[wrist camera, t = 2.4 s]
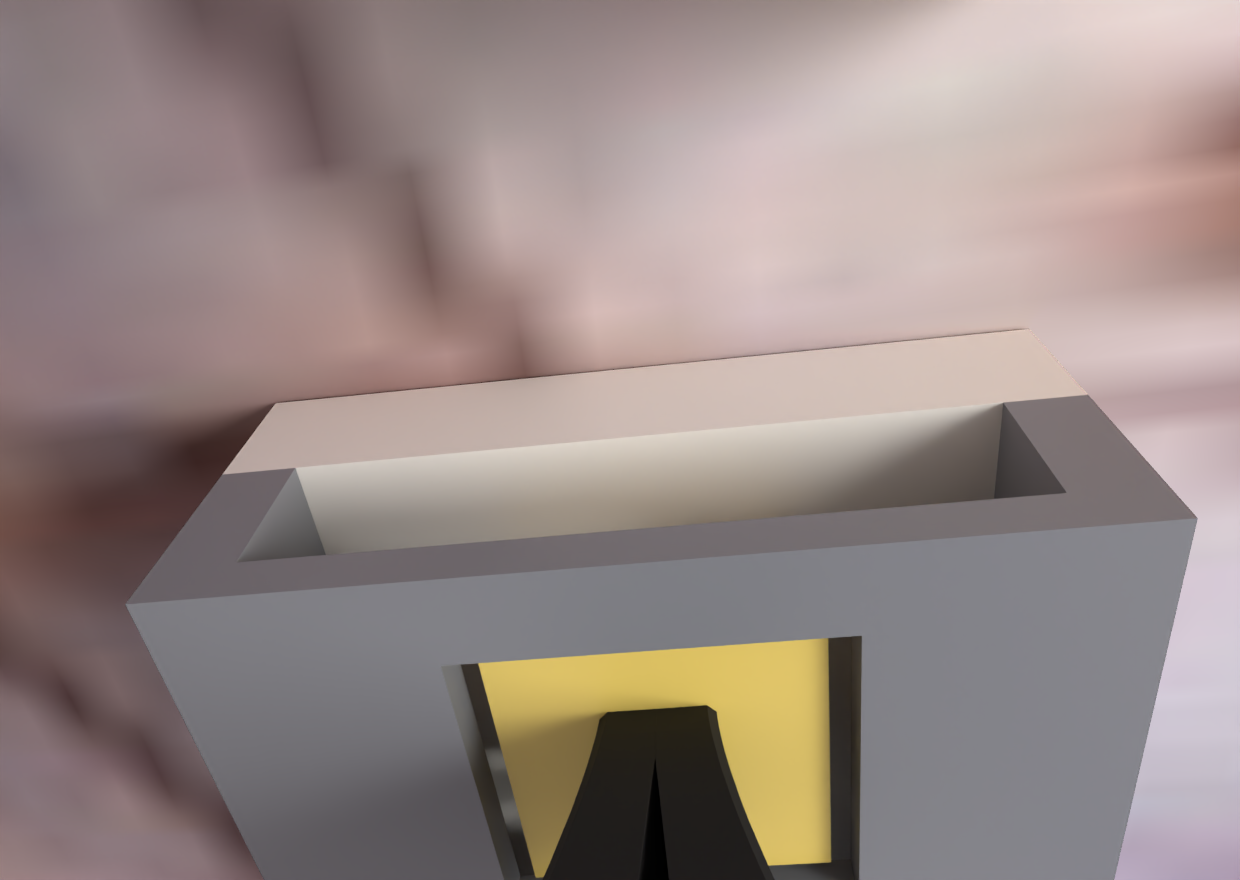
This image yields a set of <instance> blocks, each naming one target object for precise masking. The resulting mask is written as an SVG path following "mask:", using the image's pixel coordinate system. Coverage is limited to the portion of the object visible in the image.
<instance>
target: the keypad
mask: <svg viewBox="0 0 1240 880" xmlns="http://www.w3.org/2000/svg"><path fill="white" fill-rule="evenodd" d="M1197 519H1198V518H1197V517H1196V516H1195V515H1194V514H1193V513H1192V511H1191V510H1190V509H1189V508H1188V507H1187V506H1186V505H1185V504H1184V502H1183V501H1182V500H1181V499H1180V498H1179V497H1178V496H1177V495H1176V493H1175V492H1174V491H1173V490H1172V489H1171V488H1170V487H1169V486H1168V484H1167V483H1166V482H1165V481H1164V480H1163V479H1162V478H1161V477H1160V475H1159V474H1158V473H1157V472H1156V471H1155V470H1154V469H1153V468H1152V466H1151V465H1150V464H1149V463H1148V462H1147V461H1146V460H1145V458H1144V457H1143V456H1142V455H1141V454H1140V453H1139V452H1138V451H1137V449H1136V448H1135V447H1134V446H1133V445H1132V444H1131V443H1130V442H1129V440H1128V439H1127V438H1126V437H1125V436H1124V435H1123V434H1122V433H1121V431H1120V430H1119V429H1118V428H1117V427H1116V426H1115V425H1114V424H1113V422H1112V421H1111V420H1110V419H1109V418H1108V417H1107V416H1106V415H1105V413H1104V412H1103V411H1102V410H1101V409H1100V408H1099V407H1098V406H1097V404H1096V403H1095V402H1094V401H1093V400H1092V399H1091V398H1090V397H1089V395H1088V394H1087V393H1086V392H1085V391H1084V390H1083V389H1082V388H1081V386H1080V385H1079V384H1078V383H1077V382H1076V381H1075V380H1074V379H1073V377H1072V376H1071V375H1070V374H1069V373H1068V372H1067V371H1066V369H1065V368H1064V367H1063V366H1062V365H1061V364H1060V363H1059V362H1058V360H1057V359H1056V358H1055V357H1054V356H1053V355H1052V354H1051V353H1050V351H1049V350H1048V349H1047V348H1046V347H1045V346H1044V345H1043V344H1042V342H1041V341H1040V340H1039V339H1038V338H1037V337H1036V336H1035V335H1034V333H1033V332H1032V331H1031V330H1030V329H1023V330H1013V331H1003V332H993V333H983V334H973V335H963V336H952V337H942V338H932V339H922V340H912V341H902V342H892V343H882V344H871V345H861V346H851V347H841V348H831V349H821V350H811V351H800V352H790V353H780V354H770V355H760V356H750V357H740V358H730V359H719V360H709V361H699V362H689V363H679V364H669V365H659V366H648V367H638V368H628V369H618V370H608V371H598V372H588V373H578V374H567V375H557V376H547V377H537V378H527V379H517V380H507V381H497V382H486V383H476V384H466V385H456V386H446V387H436V388H426V389H415V390H405V391H395V392H385V393H375V394H365V395H355V396H345V397H334V398H324V399H314V400H304V401H294V402H284V403H275V405H274V406H273V407H272V409H271V410H270V411H269V413H268V414H267V415H266V417H265V418H264V419H263V421H262V422H261V423H260V425H259V426H258V427H257V429H256V430H255V431H254V433H253V434H252V436H251V437H250V438H249V440H248V441H247V442H246V444H245V445H244V446H243V448H242V449H241V450H240V452H239V453H238V454H237V456H236V457H235V458H234V460H233V461H232V462H231V464H230V465H229V466H228V468H227V469H226V470H225V472H224V473H223V474H222V476H221V477H220V478H219V480H218V481H217V482H216V484H215V485H214V486H213V488H212V489H211V490H210V492H209V493H208V494H207V496H206V497H205V498H204V500H203V501H202V502H201V504H200V505H199V506H198V508H197V509H196V510H195V512H194V513H193V514H192V516H191V517H190V518H189V520H188V521H187V522H186V524H185V525H184V526H183V528H182V529H181V530H180V532H179V533H178V534H177V536H176V537H175V539H174V540H173V541H172V543H171V544H170V545H169V547H168V548H167V549H166V551H165V552H164V553H163V555H162V556H161V557H160V559H159V560H158V561H157V563H156V564H155V565H154V567H153V568H152V569H151V571H150V572H149V573H148V575H147V576H146V577H145V579H144V580H143V581H142V583H141V584H140V585H139V587H138V588H137V589H136V591H135V592H134V593H133V595H132V596H131V597H130V599H129V600H128V601H127V603H126V604H125V605H126V607H127V609H128V611H129V613H130V615H131V617H132V619H133V621H134V623H135V625H136V627H137V629H138V631H139V633H140V635H141V637H142V639H143V641H144V643H145V645H146V647H147V649H148V651H149V653H150V655H151V657H152V659H153V661H154V663H155V665H156V667H157V669H158V671H159V672H160V674H161V676H162V678H163V680H164V682H165V684H166V686H167V688H168V690H169V692H170V694H171V696H172V698H173V700H174V702H175V704H176V706H177V708H178V710H179V712H180V714H181V716H182V718H183V720H184V722H185V724H186V726H187V728H188V730H189V732H190V734H191V736H192V738H193V740H194V742H195V744H196V746H197V748H198V750H199V752H200V754H201V756H202V758H203V760H204V762H205V764H206V766H207V768H208V770H209V772H210V774H211V776H212V778H213V780H214V782H215V784H216V786H217V788H218V790H219V792H220V793H221V795H222V797H223V799H224V801H225V803H226V805H227V807H228V809H229V811H230V813H231V815H232V817H233V819H234V821H235V823H236V825H237V827H238V829H239V831H240V833H241V835H242V837H243V839H244V841H245V843H246V845H247V847H248V849H249V851H250V853H251V855H252V857H253V859H254V861H255V863H256V865H257V867H258V869H259V871H260V873H261V875H262V877H263V879H264V880H542V879H543V877H537V878H536V877H535V873H534V869H533V866H532V862H531V858H530V854H529V851H528V847H527V843H526V840H525V836H524V832H523V828H522V825H521V821H520V817H519V813H518V810H517V806H516V802H515V799H514V795H513V791H512V787H511V784H510V780H509V776H508V772H507V769H506V765H505V761H504V758H503V754H502V750H501V746H500V743H499V739H498V735H497V732H496V728H495V724H494V720H493V717H492V713H491V709H490V705H489V702H488V698H487V694H486V691H485V687H484V683H483V679H482V676H481V672H480V668H479V665H478V663H489V662H503V661H517V660H531V659H544V658H558V657H572V656H586V655H600V654H614V653H628V652H642V651H655V650H669V649H683V648H697V647H711V646H725V645H739V644H753V643H767V642H780V641H794V640H808V639H822V638H828V655H829V730H830V806H831V862H829V863H809V864H790V865H770V866H769V868H770V871H771V873H772V875H773V877H774V879H775V880H1114V878H1115V873H1116V869H1117V865H1118V860H1119V856H1120V852H1121V847H1122V843H1123V839H1124V835H1125V830H1126V826H1127V822H1128V817H1129V813H1130V809H1131V804H1132V800H1133V796H1134V791H1135V787H1136V783H1137V778H1138V774H1139V770H1140V765H1141V761H1142V757H1143V752H1144V748H1145V744H1146V739H1147V735H1148V731H1149V726H1150V722H1151V718H1152V713H1153V709H1154V705H1155V700H1156V696H1157V692H1158V687H1159V683H1160V679H1161V674H1162V670H1163V666H1164V661H1165V657H1166V653H1167V648H1168V644H1169V640H1170V635H1171V631H1172V627H1173V622H1174V618H1175V614H1176V609H1177V605H1178V601H1179V597H1180V592H1181V588H1182V584H1183V579H1184V575H1185V571H1186V566H1187V562H1188V558H1189V553H1190V549H1191V545H1192V540H1193V536H1194V532H1195V527H1196V523H1197Z"/></svg>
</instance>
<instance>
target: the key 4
mask: <svg viewBox="0 0 1240 880" xmlns="http://www.w3.org/2000/svg"><path fill="white" fill-rule="evenodd" d="M478 665H479V668H480V672H481V676H482V679H483V683H484V687H485V691H486V694H487V698H488V702H489V705H490V709H491V713H492V717H493V720H494V724H495V728H496V732H497V735H498V739H499V743H500V746H501V750H502V754H503V758H504V761H505V765H506V769H507V772H508V776H509V780H510V784H511V787H512V791H513V795H514V799H515V802H516V806H517V810H518V813H519V817H520V821H521V825H522V828H523V832H524V836H525V840H526V843H527V847H528V851H529V854H530V858H531V862H532V866H533V869H534V873H535V877H536V878H537V877H544V875H545V873H546V870H547V868H548V866H549V864H550V861H551V859H552V856H553V854H554V851H555V849H556V846H557V844H558V842H559V839H560V837H561V834H562V832H563V829H564V827H565V824H566V822H567V819H568V817H569V815H570V812H571V809H572V807H573V804H574V801H575V798H576V796H577V793H578V790H579V787H580V785H581V782H582V779H583V776H584V773H585V770H586V767H587V764H588V761H589V757H590V754H591V751H592V747H593V744H594V740H595V737H596V733H597V728H598V724H599V720H600V718H602V717H603V716H604V715H605V714H606V713H607V712H616V711H631V710H646V709H661V708H675V707H689V706H703V705H708V706H709V707H711V708H712V709H713V710H715V711H716V712H717V718H718V724H719V729H720V734H721V738H722V742H723V746H724V750H725V754H726V757H727V760H728V764H729V767H730V770H731V773H732V776H733V779H734V782H735V785H736V787H737V790H738V793H739V796H740V799H741V802H742V804H743V807H744V809H745V812H746V814H747V817H748V819H749V822H750V824H751V827H752V829H753V831H754V834H755V836H756V838H757V841H758V843H759V845H760V847H761V850H762V852H763V854H764V857H765V859H766V861H767V864H768V866H770V865H790V864H809V863H829V862H831V806H830V730H829V655H828V638H822V639H808V640H794V641H780V642H767V643H753V644H739V645H725V646H711V647H697V648H683V649H669V650H655V651H642V652H628V653H614V654H600V655H586V656H572V657H558V658H544V659H531V660H517V661H503V662H489V663H478Z"/></svg>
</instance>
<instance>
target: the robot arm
mask: <svg viewBox="0 0 1240 880" xmlns="http://www.w3.org/2000/svg"><path fill="white" fill-rule="evenodd" d="M542 880H775V879H774V877H773V875H772V873H771V871H770V868H769V866H768V864H767V861H766V859H765V857H764V854H763V852H762V850H761V847H760V845H759V843H758V841H757V838H756V836H755V834H754V831H753V829H752V827H751V824H750V822H749V819H748V817H747V814H746V812H745V809H744V807H743V804H742V802H741V799H740V796H739V793H738V790H737V787H736V785H735V782H734V779H733V776H732V773H731V770H730V767H729V764H728V760H727V757H726V754H725V750H724V746H723V742H722V738H721V734H720V729H719V724H718V718H717V712H716V711H715V710H713V709H712V708H711V707H709V706H708V705H703V706H689V707H675V708H661V709H646V710H631V711H616V712H607V713H606V714H605V715H604V716H603V717H602V718H600V720H599V724H598V728H597V733H596V737H595V740H594V744H593V747H592V751H591V754H590V757H589V761H588V764H587V767H586V770H585V773H584V776H583V779H582V782H581V785H580V787H579V790H578V793H577V796H576V798H575V801H574V804H573V807H572V809H571V812H570V815H569V817H568V819H567V822H566V824H565V827H564V829H563V832H562V834H561V837H560V839H559V842H558V844H557V846H556V849H555V851H554V854H553V856H552V859H551V861H550V864H549V866H548V868H547V870H546V873H545V875H544V877H543V879H542Z"/></svg>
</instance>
